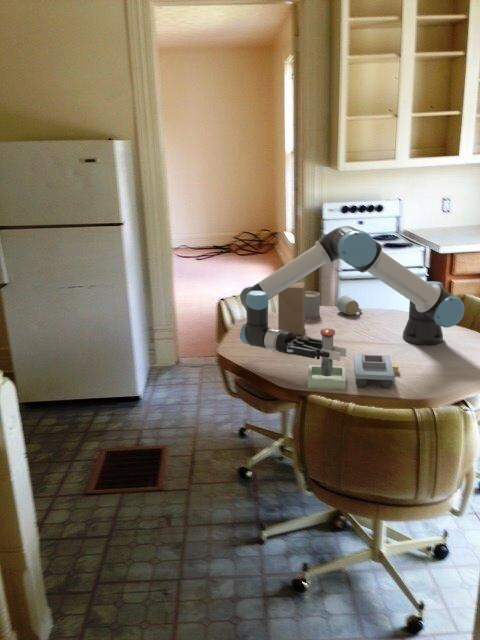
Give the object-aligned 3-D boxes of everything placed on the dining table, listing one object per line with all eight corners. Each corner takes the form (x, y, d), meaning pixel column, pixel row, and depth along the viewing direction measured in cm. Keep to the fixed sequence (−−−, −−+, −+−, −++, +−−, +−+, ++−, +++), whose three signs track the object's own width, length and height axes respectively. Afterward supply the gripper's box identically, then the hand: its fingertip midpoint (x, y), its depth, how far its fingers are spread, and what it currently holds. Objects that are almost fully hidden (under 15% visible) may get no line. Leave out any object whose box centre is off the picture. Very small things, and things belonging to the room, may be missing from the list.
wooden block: (302, 335, 231) (303, 287, 225) (278, 334, 233) (278, 287, 227) (304, 327, 240) (305, 282, 234) (281, 326, 242) (281, 281, 236)
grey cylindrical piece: (310, 319, 251) (310, 297, 248) (292, 315, 258) (293, 294, 255) (328, 313, 260) (329, 292, 257) (311, 309, 267) (311, 288, 264)
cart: (396, 369, 195) (398, 350, 193) (402, 390, 178) (404, 370, 176) (353, 367, 197) (353, 348, 195) (355, 388, 180) (355, 368, 178)
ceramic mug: (346, 317, 254) (347, 300, 252) (335, 312, 261) (336, 296, 259) (365, 314, 258) (366, 297, 256) (354, 309, 265) (355, 293, 263)
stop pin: (333, 371, 187) (335, 328, 183) (333, 377, 183) (335, 333, 179) (319, 371, 188) (320, 328, 184) (319, 376, 184) (320, 332, 179)
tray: (344, 374, 191) (345, 366, 190) (345, 389, 180) (345, 380, 179) (308, 373, 193) (309, 365, 192) (307, 387, 182) (307, 379, 181)
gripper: (293, 344, 201) (353, 357, 187) (267, 358, 188) (329, 374, 175) (293, 324, 199) (354, 336, 185) (266, 337, 186) (330, 351, 173)
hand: (342, 354), depth 180 cm, fingers closed on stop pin, 4 cm apart
